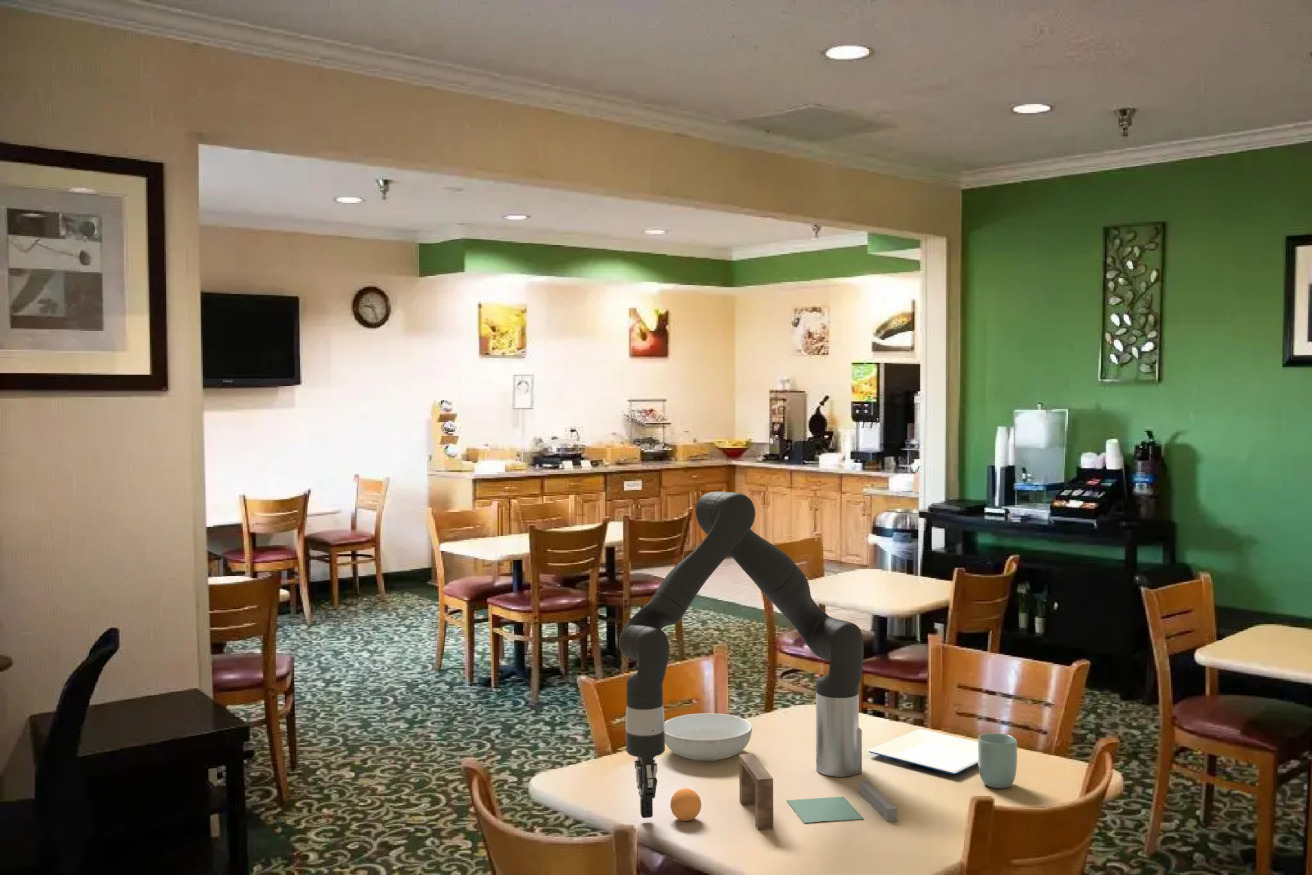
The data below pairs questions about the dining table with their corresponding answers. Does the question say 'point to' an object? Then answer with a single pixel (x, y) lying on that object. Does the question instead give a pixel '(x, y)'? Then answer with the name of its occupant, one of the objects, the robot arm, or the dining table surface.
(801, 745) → the dining table surface
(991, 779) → the cup
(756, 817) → the bridge
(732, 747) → the serving bowl
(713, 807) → the dining table surface
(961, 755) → the plate
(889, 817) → the stopper
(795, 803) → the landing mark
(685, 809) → the ball
